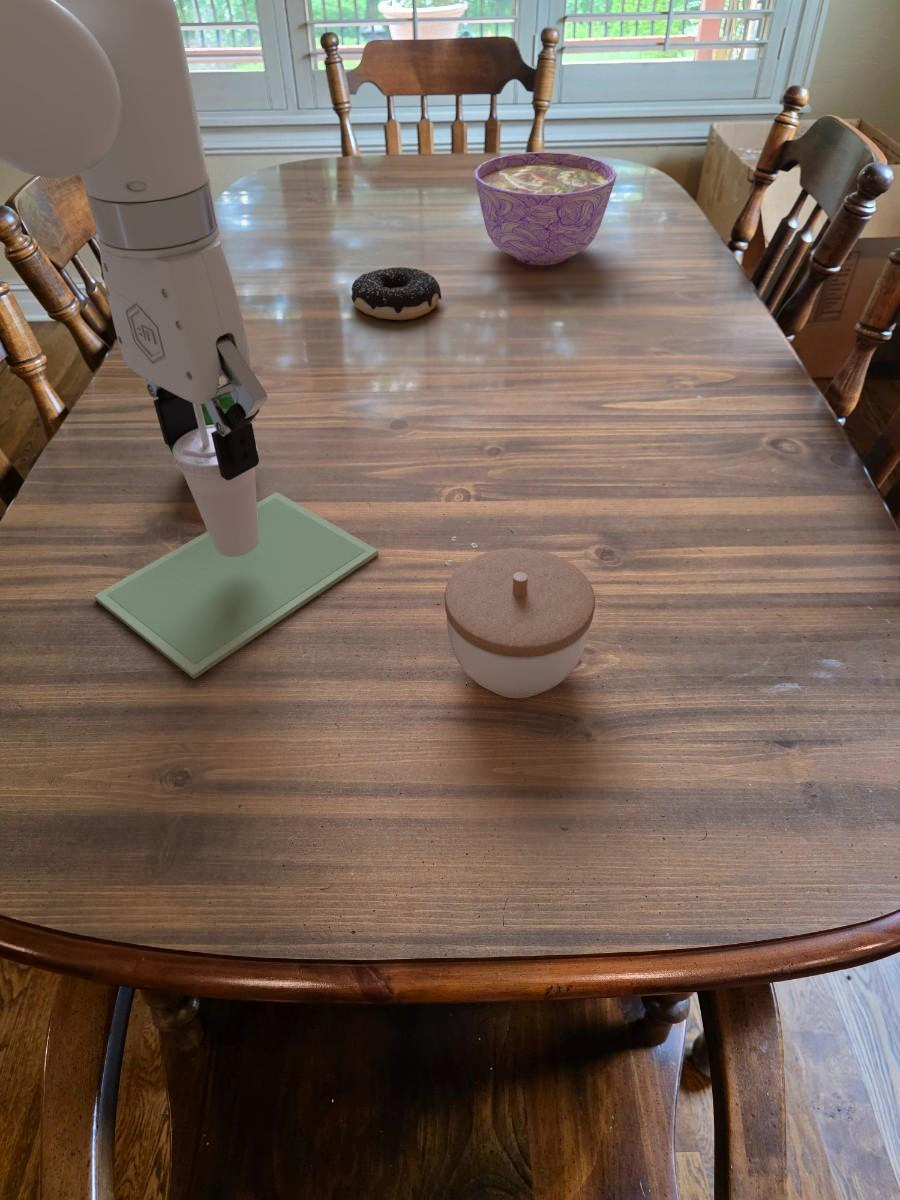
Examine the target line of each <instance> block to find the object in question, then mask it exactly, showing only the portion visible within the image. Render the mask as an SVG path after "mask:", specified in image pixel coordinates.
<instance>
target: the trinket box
mask: <svg viewBox="0 0 900 1200" xmlns="http://www.w3.org/2000/svg"><path fill="white" fill-rule="evenodd" d="M595 609H596V595H595V592H594V588H593V586H592V584H591V582H590V580H589V579H588V577H587V576H586V575H585V574H584V573H583V571H581V570H580V569H579V568H578V567H577V566H575V565H574V564H573V563H572V562H570V561H568V560H566V559H565V558H563V557H561V556H558V555H556V554H554V553H550V552H547V551H544V550H539V549H533V548H523V547H513V548H511V547H510V548H501V549H495V550H491V551H487V552H484V553H481V554H479V555H476V556H474V557H472V558H471V559H469V560H467V561H465V562H464V563H463V564H462V565H460V566H459V567H458V568H457V569H456V570H455V571H454V572H453V574H452V575H451V576H450V577H449V580H448V582H447V584H446V586H445V590H444V611H445V614H446V627H447V633H448V639H449V642H450V646H451V649H452V652H453V654H454V657H455V659H456V660H457V662H458V664H459V665H460V667H461V668H462V670H463V672H464V673H465V674H466V675H467V676H468V677H469V678H471V679H472V680H473V681H474V682H475V683H476V684H478V685H479V686H481V687H483V688H484V689H487V690H488V691H490V692H492V693H493V694H496V695H498V696H500V697H505V698H508V699H525V698H527V699H528V698H531V697H534V696H537V695H539V694H541V693H544V692H547V691H549V690H551V689H554V687H556V686H558V685H559V684H560V683H562V682H563V681H564V680H565V679H567V678H568V677H569V676H570V675H571V674H572V672H573V671H574V670H575V668H577V666H578V664H579V662H580V660H581V658H582V656H583V654H584V652H585V650H586V646H587V643H588V639H589V635H590V632H591V626H592V622H593V618H594V615H595Z"/></svg>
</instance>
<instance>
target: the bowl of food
mask: <svg viewBox="0 0 900 1200" xmlns="http://www.w3.org/2000/svg"><path fill="white" fill-rule="evenodd" d="M617 175H618V174H617V173H616V170H615V168H614V167H613V166H611V165H610V164H608V163H607V162H605V161H603V160H600V159H597V158H594V157H591V156H586V155H580V154H575V153H570V152H569V153H568V152H556V151H555V152H554V151H534V152H533V151H532V152H530V151H529V152H522V153H521V152H520V153H511V154H506V155H502V156H499V157H494V158H491V159H489V160H487V161H485V162H483V163H480V164H479V166H477V167H476V169H475V170H474V180H475V184H476V190H477V195H478V198H479V204H480V208H481V213H482V214H481V215H482V218H483V222H484V226H485V229H486V234H487V236H488V237H489V238H490V240H491V242H492V243H493V245H494V246H496V247H497V248H498V249H499V250H500V251H501V252H503V253H505V254H507V255H508V256H511V257H513V258H514V259H516V261H518V262H521V263H523V264H528V265H531V266H532V265H533V266H534V265H535V266H550V265H556V264H559V263H562V262H564V261H565V260H567V259H568V258H572V257H573V256H576V255H577V254H579V253H581V252H582V251H584V250H585V249H587V248H588V247H589V246H590V245H591V243H592V242H593V241H594V239H596V236H597V234H598V233H599V229H600V227H601V225H602V222H603V220H604V217H605V213H606V210H607V208H608V204H609V201H610V197H611V194H612V192H613V188H614V186H615V182H616V179H617Z"/></svg>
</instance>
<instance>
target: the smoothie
mask: <svg viewBox="0 0 900 1200" xmlns="http://www.w3.org/2000/svg"><path fill="white" fill-rule="evenodd" d="M193 407H194V411H195V415H196V419H197V423H198V428H197V429H194V430H192V431H190V432H188V433H186V434H185V435H183V436H182V437H180V438H179V439H178V440H177V442H176V443H175V445H174V447H173V454H172V456H173V455H174V456H173V460H174V465H175V466H176V468H177V469H178V470H179V471H180V472H182V474H183V477H184V479H185V481H186V484H187V486H188V488H189V491H190V492H191V495H192V497H193V499H194V502H195V504H196V507H197V510H198V512H199V514H200V516H201V519H202V521H203V523H204V526H205V528H206V530H207V531H208V533H209V535H210V538H211V540H212V542H213V545H214V547H215V549H216V551H217V552H218V553H219V554H221V555H224V556H229V557H236V556H241V555H245V554H247V553H249V552H251V551H252V550H254V549H255V548H256V547H257V545H258V543H259V534H258V516H257V503H258V501H257V499H258V498H257V484H256V483H257V482H256V466H255V467H253V468H252V469H250V470H248V471H246V472H244V473H242V474H240V475H239V476H237V477H235V478H233V479H231V480H226V479H224V478H222V477H221V474H220V469H219V465H218V461H217V457H216V452H215V448H214V444H213V439H212V435H211V433H212V432H214V431H216V428H215V426H214V425H208V426H206V425H205V420H204V416H203V412H202V408H201V404H195V403H193ZM256 447H257V452H258V451H259V449H258V445H257V444H256Z"/></svg>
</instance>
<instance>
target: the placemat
mask: <svg viewBox="0 0 900 1200" xmlns="http://www.w3.org/2000/svg"><path fill="white" fill-rule="evenodd" d="M257 516H258V534H259V543H258V545H257V547H256V548H255V549H254V550H252V551H251V552H249V553H247V554H245V555H241V556H236V557H229V556H224V555H221V554H219V553H218V552H217V551H216V549H215V547H214V545H213V542H212V540H211V538H210V535H209V533H208V530H207V531H204V532H203V533H202V534H200V535H198V536H196V537H194V538H193V539H191V540H189V541H188V542H186V543H184V544H182V545H181V546H179V547H177V548H175V549H173V550H171V551H169V552H168V553H166V554H164V555H163V556H161V557H159V558H158V559H156V560H154V561H152V562H151V563H149V564H147V565H145V566H144V567H142V568H140V569H139V570H137V571H135V572H133V573H131V574H129V575H128V576H126V577H124V578H123V579H120V580H119V581H117V582H116V583H114V584H112V585H110V586H109V587H107V588H105V589H103V590H101V591H99V592H98V593H97V594H94V595H93V597H94V600H95V601H96V602H98V604H100V605H101V606H102V607H104V608H105V609H106V610H107V611H109V612H110V613H111V614H112V615H114V617H116V618H117V619H119V620H120V621H121V622H122V623H123V624H125V625H126V626H127V627H128V628H130V629H131V630H132V631H134V633H136V634H137V635H138V636H140V637H141V638H142V639H143V640H145V641H146V642H147V643H149V644H150V645H151V646H152V647H153V648H155V649H156V650H157V651H158V652H160V653H161V654H162V655H163V656H165V658H166V659H168V660H170V661H171V662H172V663H173V664H175V665H176V666H177V667H178V668H179V669H181V670H182V671H183V672H185V673H186V674H187V675H188V676H189V677H191V678H192V679H193V680H195V679H197V678H198V677H199V676H202V674H204V673H206V672H207V671H208V670H211V668H213V667H214V666H216V665H217V664H218V663H220V662H222V661H223V660H224V659H226V658H228V657H229V656H231V655H232V654H233V653H235V652H236V651H238V650H240V649H241V648H243V647H244V646H246V644H248V643H250V642H251V641H253V640H255V639H256V638H257V637H259V636H260V635H262V634H263V633H265V632H266V631H268V630H269V629H271V628H272V627H274V626H275V625H276V624H278V623H279V622H280V621H282V620H284V619H286V618H287V617H288V616H290V615H291V614H293V613H294V612H295V611H297V610H298V609H300V608H301V607H303V606H304V605H306V604H308V603H309V602H310V601H313V599H315V598H317V597H318V596H319V595H321V594H322V593H323V592H325V591H326V590H328V589H329V588H331V587H333V586H334V585H336V584H337V583H338V582H340V581H341V580H343V579H344V578H346V577H347V576H349V575H350V574H352V573H353V572H355V571H356V570H358V569H359V568H361V567H362V566H363V565H365V564H367V563H368V562H370V561H371V560H372V559H374V558H375V557H377V556H378V555H379V550H378V549H377V548H375V547H373V546H371V545H370V544H368V543H366V542H364V541H363V540H361V539H360V538H357V537H356V536H354V535H352V534H351V533H349V532H348V531H346V530H344V529H342V528H340V527H339V526H337V525H335V524H333V523H331V522H330V521H328V520H326V519H325V518H323V517H321V516H320V515H318V514H317V513H314V512H312V511H311V510H309V509H307V508H306V507H304V506H303V505H300V504H298V503H297V502H295V501H294V500H292V499H290V498H288V497H286V496H285V495H283V494H282V493H279V492H278V491H275V492H274V493H272V494H270V495H268V496H267V497H265V498H263V499H261V500H260V501H257Z"/></svg>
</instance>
